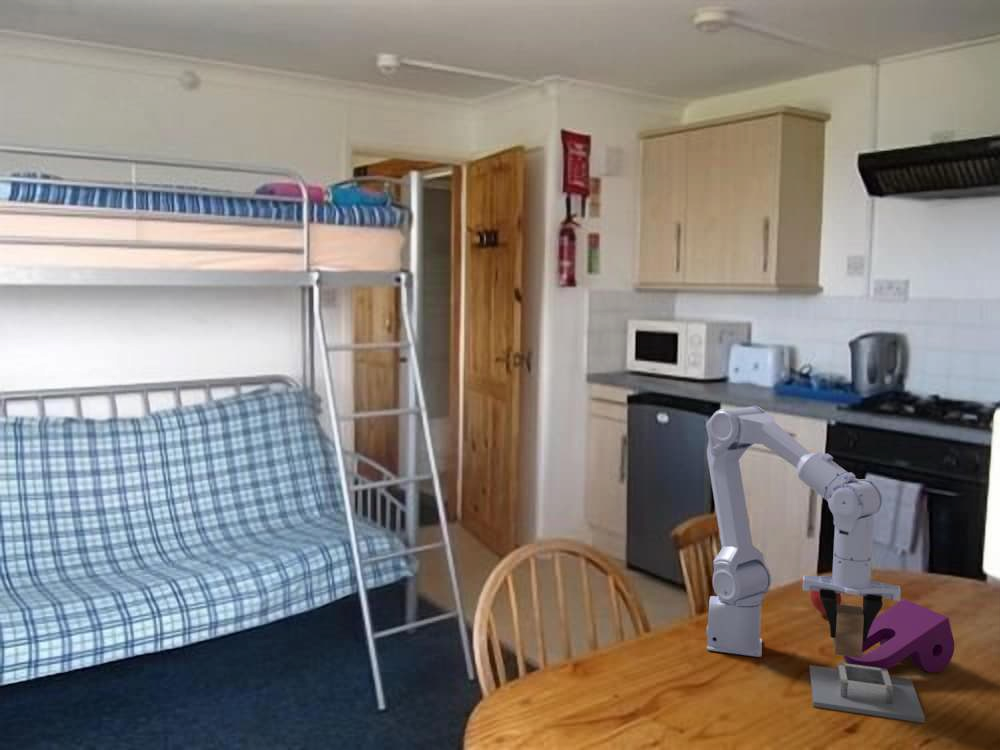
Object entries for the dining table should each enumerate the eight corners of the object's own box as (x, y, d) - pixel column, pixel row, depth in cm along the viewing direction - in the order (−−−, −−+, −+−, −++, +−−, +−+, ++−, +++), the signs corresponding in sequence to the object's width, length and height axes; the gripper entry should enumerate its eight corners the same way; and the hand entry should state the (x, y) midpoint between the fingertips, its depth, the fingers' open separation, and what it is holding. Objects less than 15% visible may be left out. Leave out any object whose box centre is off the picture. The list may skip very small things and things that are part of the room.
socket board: (813, 706, 137) (814, 686, 136) (809, 669, 150) (810, 651, 150) (924, 723, 132) (926, 702, 132) (910, 683, 145) (911, 664, 145)
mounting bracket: (881, 710, 146) (958, 658, 151) (870, 668, 144) (948, 617, 149) (841, 686, 154) (915, 637, 160) (829, 646, 152) (904, 598, 158)
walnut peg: (834, 654, 140) (837, 612, 139) (833, 645, 143) (835, 604, 143) (861, 658, 138) (863, 615, 138) (859, 648, 142) (861, 607, 141)
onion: (814, 607, 179) (816, 570, 179) (843, 614, 176) (845, 576, 175) (806, 616, 175) (807, 577, 174) (835, 622, 171) (837, 583, 171)
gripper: (805, 558, 138) (801, 640, 139) (905, 568, 133) (900, 653, 135) (804, 546, 144) (800, 624, 146) (899, 555, 140) (894, 636, 141)
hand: (848, 637), depth 141 cm, fingers closed on walnut peg, 4 cm apart
